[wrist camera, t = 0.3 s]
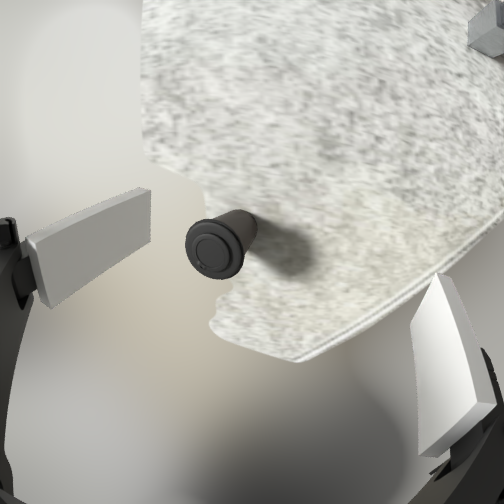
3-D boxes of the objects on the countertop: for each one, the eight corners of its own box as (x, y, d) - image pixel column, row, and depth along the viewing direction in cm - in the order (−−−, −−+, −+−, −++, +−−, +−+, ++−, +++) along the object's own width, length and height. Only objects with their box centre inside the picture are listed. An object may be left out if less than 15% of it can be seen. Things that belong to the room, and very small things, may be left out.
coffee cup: (215, 246, 47) (182, 276, 38) (215, 196, 43) (178, 217, 34) (264, 256, 44) (239, 290, 36) (268, 204, 41) (241, 228, 32)
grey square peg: (468, 22, 20) (498, -6, 10) (492, 34, 19) (528, 13, 9) (467, 45, 22) (500, 23, 12) (492, 58, 21) (530, 41, 11)
